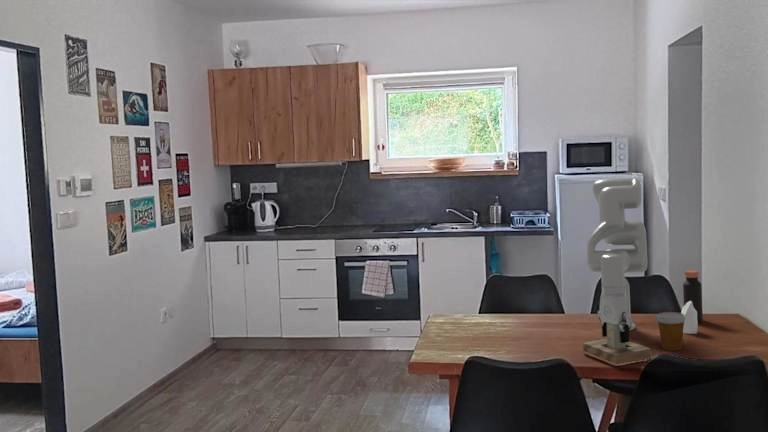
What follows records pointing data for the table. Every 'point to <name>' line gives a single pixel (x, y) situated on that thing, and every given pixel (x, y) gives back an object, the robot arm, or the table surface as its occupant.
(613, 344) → the skincare box
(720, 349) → the table surface
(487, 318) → the table surface
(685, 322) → the white house shaped block
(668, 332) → the disposable coffee cup
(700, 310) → the bottle
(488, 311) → the table surface
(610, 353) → the socket block
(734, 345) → the table surface
